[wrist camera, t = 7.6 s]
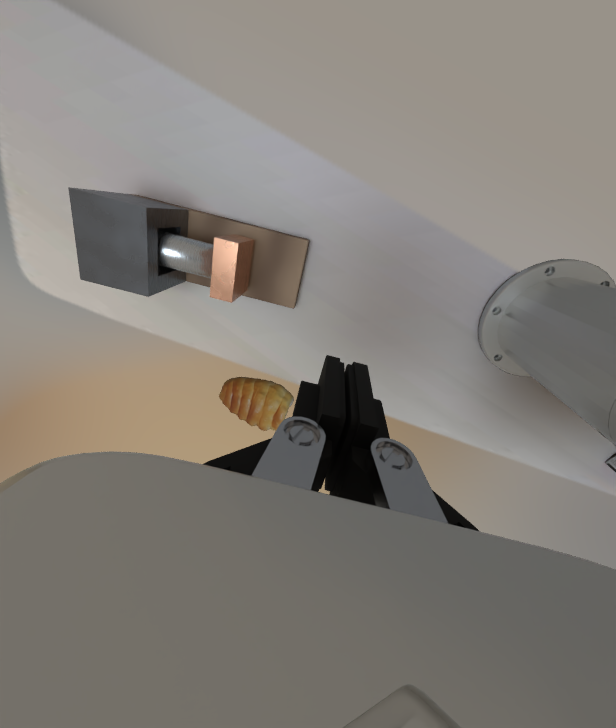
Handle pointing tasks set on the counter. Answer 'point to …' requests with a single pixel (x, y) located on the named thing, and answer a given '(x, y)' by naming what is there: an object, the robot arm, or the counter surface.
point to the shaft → (210, 261)
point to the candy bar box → (612, 462)
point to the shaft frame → (145, 216)
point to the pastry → (257, 401)
